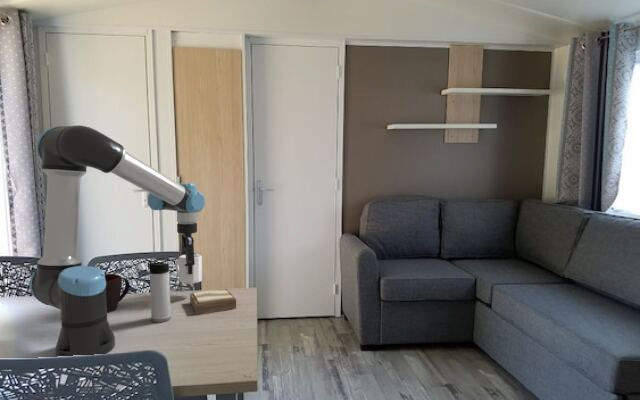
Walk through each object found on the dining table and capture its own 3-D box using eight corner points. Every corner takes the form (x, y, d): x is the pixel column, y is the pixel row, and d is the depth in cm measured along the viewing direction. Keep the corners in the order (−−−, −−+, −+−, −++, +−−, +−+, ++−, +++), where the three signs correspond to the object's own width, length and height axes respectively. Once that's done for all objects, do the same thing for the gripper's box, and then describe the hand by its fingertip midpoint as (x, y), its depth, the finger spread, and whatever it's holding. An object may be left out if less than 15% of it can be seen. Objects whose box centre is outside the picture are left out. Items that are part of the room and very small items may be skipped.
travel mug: (146, 321, 148) (144, 263, 146) (161, 314, 154) (159, 259, 152) (159, 324, 145) (157, 265, 143) (174, 317, 151) (172, 261, 149)
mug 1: (85, 311, 157) (83, 279, 156) (121, 300, 169) (119, 270, 167) (101, 317, 152) (99, 283, 150) (136, 305, 163) (135, 274, 162)
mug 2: (206, 279, 175) (206, 255, 174) (189, 284, 167) (189, 259, 166) (184, 275, 180) (184, 252, 180) (167, 280, 173) (167, 255, 172)
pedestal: (236, 308, 160) (236, 298, 160) (197, 314, 154) (196, 303, 154) (226, 297, 173) (226, 287, 172) (190, 302, 167) (190, 292, 166)
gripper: (202, 225, 163) (202, 284, 165) (191, 218, 183) (192, 271, 184) (181, 226, 159) (182, 287, 161) (173, 219, 179) (173, 273, 181)
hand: (187, 278), depth 173 cm, fingers closed on mug 2, 9 cm apart
